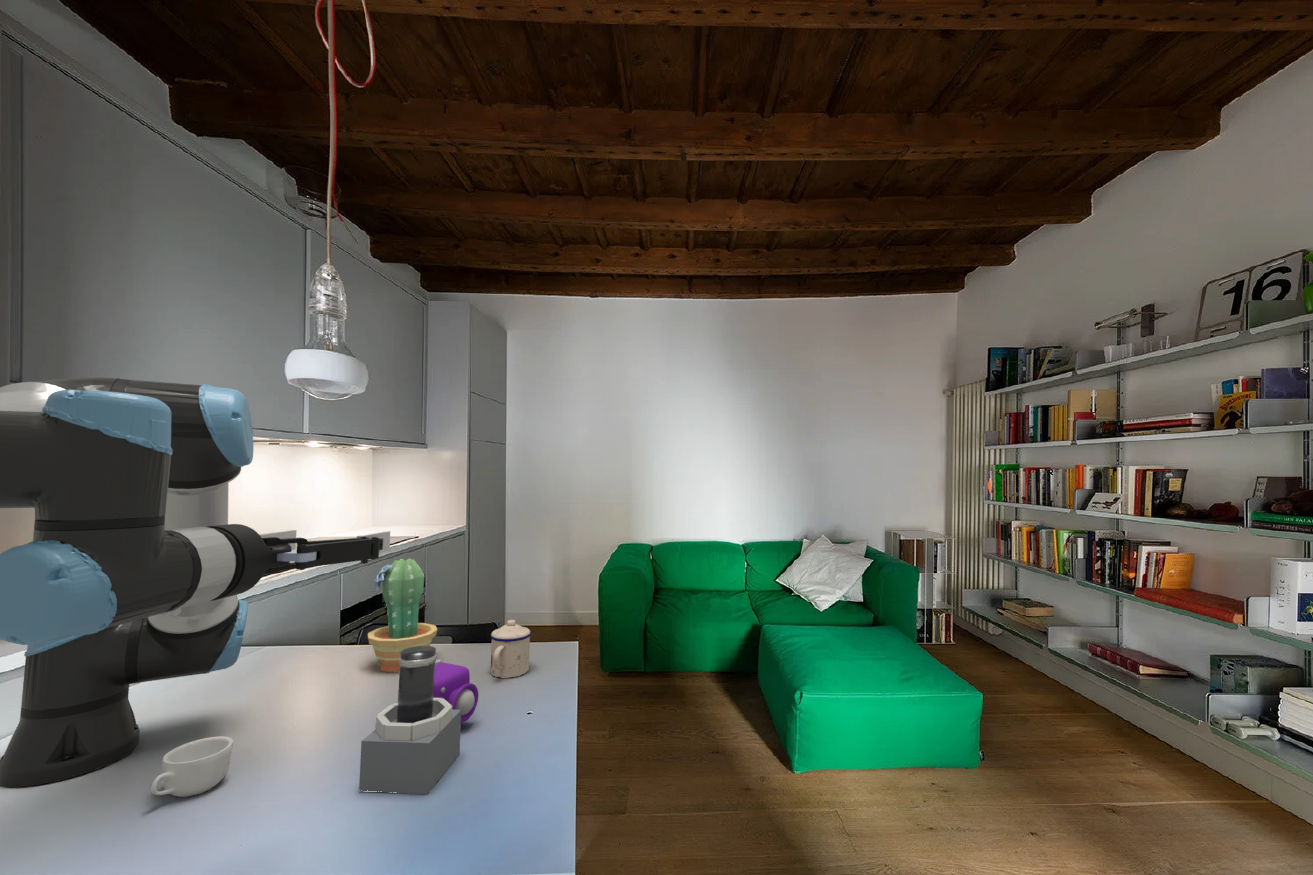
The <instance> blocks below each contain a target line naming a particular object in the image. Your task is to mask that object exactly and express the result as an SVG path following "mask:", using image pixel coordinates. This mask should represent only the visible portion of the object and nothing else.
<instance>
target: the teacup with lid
mask: <svg viewBox="0 0 1313 875" xmlns="http://www.w3.org/2000/svg"><path fill="white" fill-rule="evenodd" d="M531 635H532V632H531V630H530V629H529V628H528V627H525V626H522V625H520V624H517V621H516V620H515V619H509V620H507V622H506V624H504V625H502V626H501V627H499V628H497V629H495V630H493V631H492V632H491V634H490V638H491V644H490V646H491V648H490V674H491V676H493V677H494V676H495V678H497V677H513V676H518V675H522V674H524V673H526V672H527V671H528V672H529V671H530V648H531V647H530V642H531V641H530V640H531ZM528 672H527V673H528ZM527 673H526V674H527ZM524 675H525V674H524ZM522 676H523V675H522Z"/></svg>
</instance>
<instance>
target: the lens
mask: <svg viewBox="0 0 1313 875" xmlns="http://www.w3.org/2000/svg"><path fill="white" fill-rule="evenodd" d="M436 649H437V648H436V647H434V646H432V645H430V646H416V647H410V648H407V649H404V650H402V651H401V654H400V657H399V666H400V672H398V673H399V675H398V677H399V678H398V691H397V693H398V694H397V703H398V707H397V723H415V722H418V721H421V720H425V719H428V718H432V713H433V694H434V674H435V662H436V660H437V655H438V654H437V650H436Z"/></svg>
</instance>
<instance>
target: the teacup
mask: <svg viewBox="0 0 1313 875" xmlns="http://www.w3.org/2000/svg"><path fill="white" fill-rule="evenodd" d="M233 745H234V741H233V738H231V737H230V736H225V735H224V736H223V735H222V736H220V735H219V736H210V737H205V738H200V739H195V740H193V741H190V742H186V743H184V744H182V745H180V746H177V747H175V748H173V749H171V750H170V751H168V752H167V753H165V754H164V756H163V757H162V763H161V764H162V766H161V769H162V770H161V771H162V773H161V774H159V775H158V776H157V777H155V779H154V780H153V781H152V783H151V786H150V793H151V794H152V795H155V796H164V795H168V794H169V795H170V796H171V795H172V796H174V797H177V796H178V797H177V798H188V797H189V796H190V797H193V795H194V796H197V794H198V795H200V794H203V793H205V791H206V792H208V791H210V790H211V789H213V788H214V787H215V786H216V785H217V784H219V783H220V782H221V781H222V779H224V777H225V776H226V775H227V773H228V771H229V768H230V764H231V762H230V761H231V756H232V752H233V748H234V747H233ZM161 780H162V785H163V787H164V789H163V790H157V786H158V783H159V782H160V781H161ZM212 787H213V788H212ZM207 790H208V791H207ZM187 796H188V797H187Z"/></svg>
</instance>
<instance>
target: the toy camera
mask: <svg viewBox="0 0 1313 875" xmlns="http://www.w3.org/2000/svg"><path fill="white" fill-rule="evenodd" d="M470 680H471V678H470V670H469V668H468V667H466V666H462V665H459V664H455V663H454V664H452V663H447V662H443V661H442V660H441V659H437V658H436V662H435V674H434V694H433V698H443V699H445V700H446V701H447V702H448V703H450V704H451V705H452V710H461V723H465V722H467V721H468V720H469V719H470V718H471V716H472V715H473V713H474V712H475V711H476V708H477V706H478V702H479V689H478V687H477V685H475V684H474V683H473V682H472V683H471V682H470Z"/></svg>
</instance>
